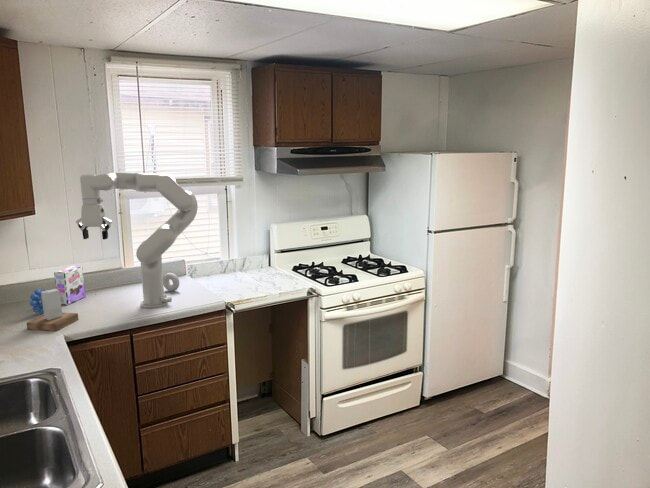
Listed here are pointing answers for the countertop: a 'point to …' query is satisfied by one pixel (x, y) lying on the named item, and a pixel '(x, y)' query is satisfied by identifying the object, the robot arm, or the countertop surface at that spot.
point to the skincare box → (51, 304)
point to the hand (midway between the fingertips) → (95, 238)
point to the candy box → (70, 284)
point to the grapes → (37, 301)
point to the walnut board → (52, 322)
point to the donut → (174, 280)
